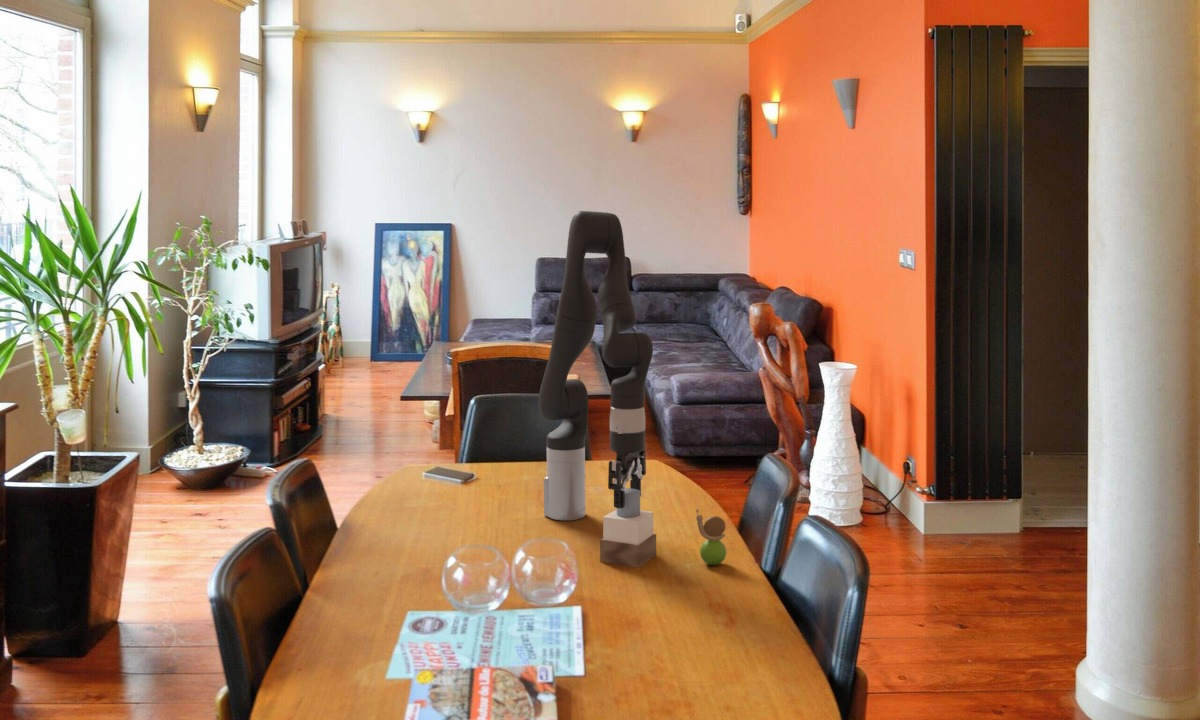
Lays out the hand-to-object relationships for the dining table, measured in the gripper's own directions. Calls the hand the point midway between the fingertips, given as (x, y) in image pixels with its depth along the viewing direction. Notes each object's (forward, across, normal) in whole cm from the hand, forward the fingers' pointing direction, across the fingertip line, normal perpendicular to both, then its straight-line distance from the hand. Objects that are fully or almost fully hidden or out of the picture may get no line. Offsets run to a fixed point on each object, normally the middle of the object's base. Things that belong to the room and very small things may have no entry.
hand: (627, 502), depth 226 cm
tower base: (+13, 0, 0) cm, 13 cm away
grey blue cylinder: (+3, 0, 0) cm, 3 cm away
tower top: (+8, 0, 0) cm, 8 cm away
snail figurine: (+12, -4, +18) cm, 22 cm away
